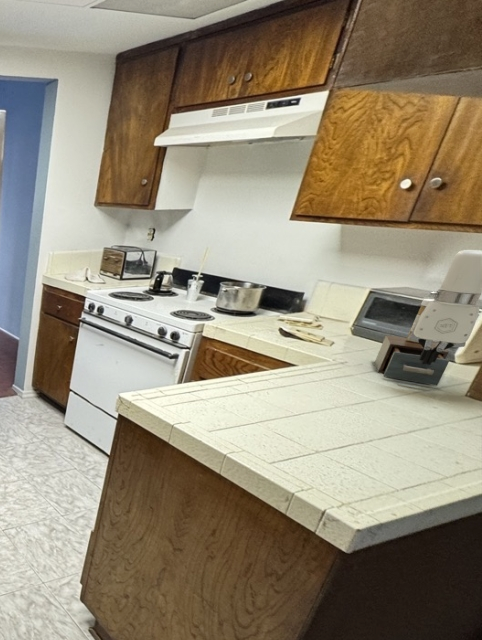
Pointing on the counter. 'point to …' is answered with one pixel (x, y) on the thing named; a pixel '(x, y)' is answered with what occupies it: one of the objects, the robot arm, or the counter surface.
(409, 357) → the drawer
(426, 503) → the counter surface
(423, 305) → the sprinkles bottle
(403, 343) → the cabinet
